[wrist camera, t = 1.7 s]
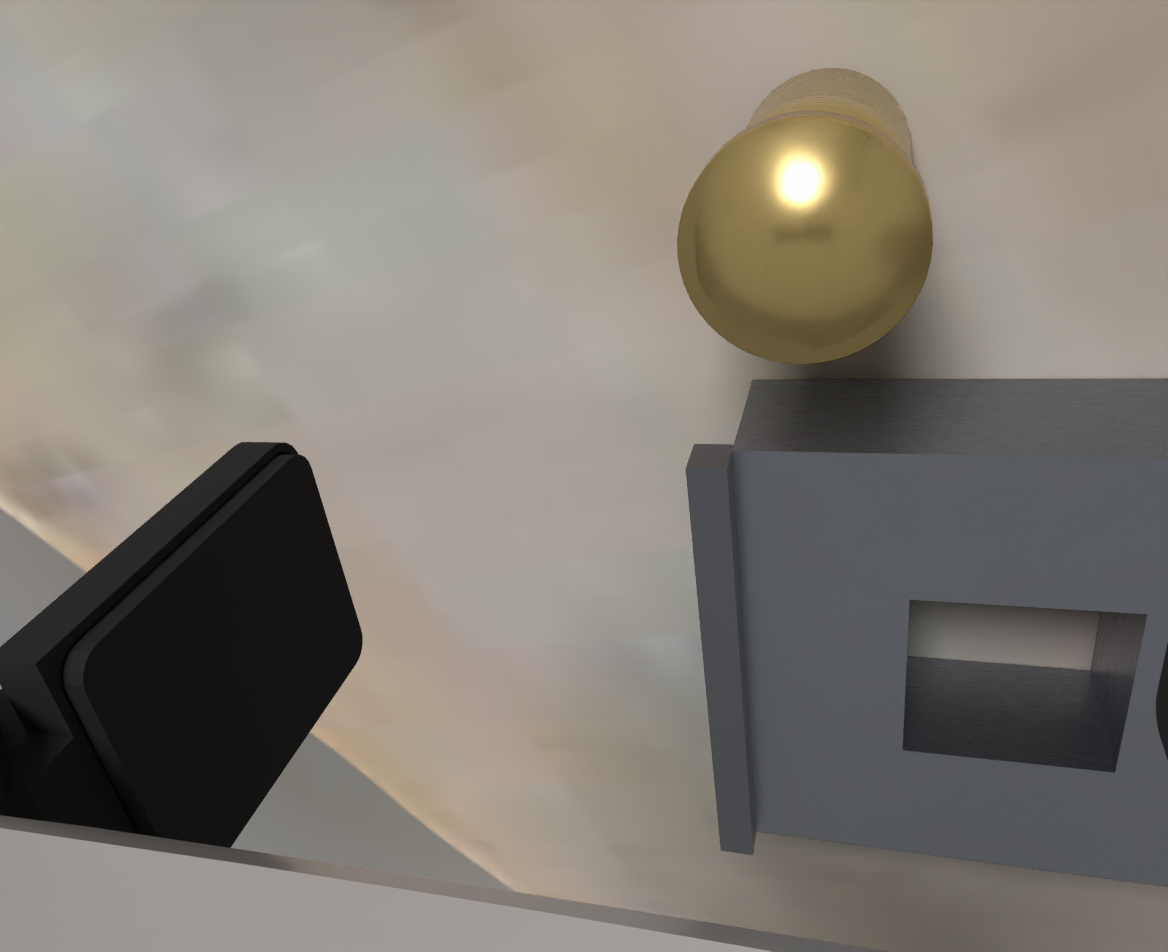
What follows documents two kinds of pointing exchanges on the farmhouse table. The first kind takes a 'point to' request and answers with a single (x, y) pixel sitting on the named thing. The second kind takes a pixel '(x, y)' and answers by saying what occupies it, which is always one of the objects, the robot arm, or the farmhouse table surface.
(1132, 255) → the farmhouse table surface
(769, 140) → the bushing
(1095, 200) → the farmhouse table surface
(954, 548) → the jig
